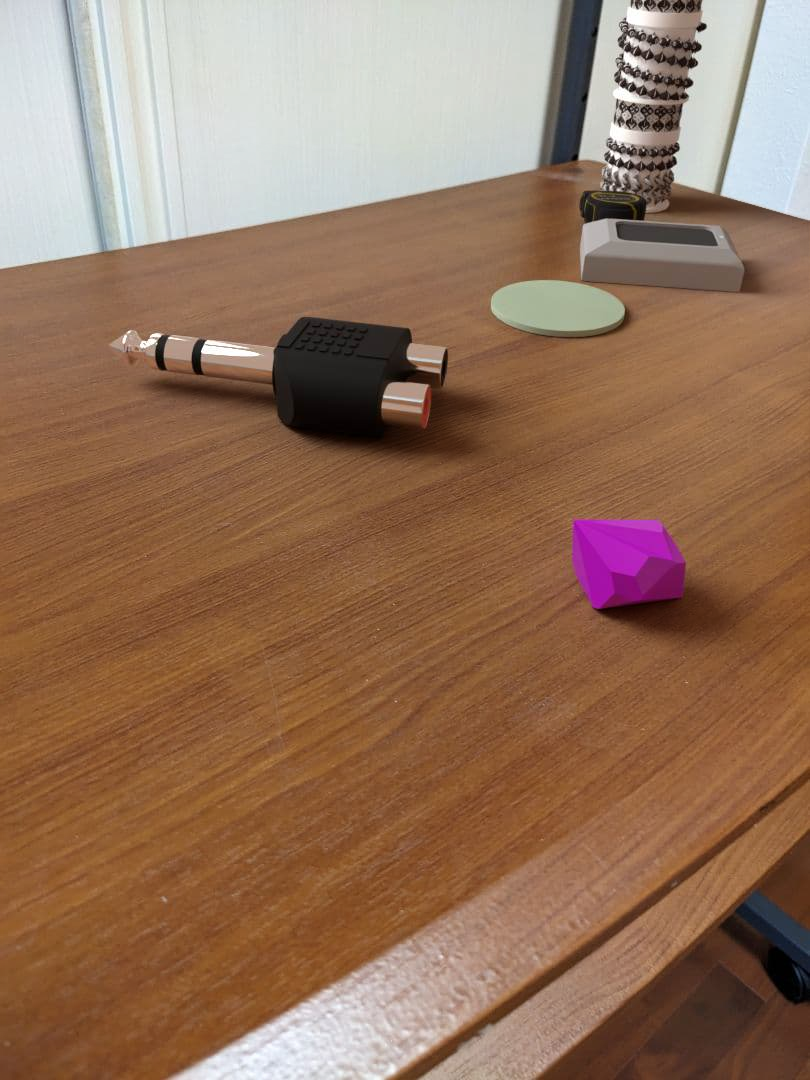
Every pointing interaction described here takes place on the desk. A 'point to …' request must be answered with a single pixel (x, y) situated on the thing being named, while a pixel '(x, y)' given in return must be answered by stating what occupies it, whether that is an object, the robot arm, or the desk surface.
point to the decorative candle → (651, 97)
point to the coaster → (557, 308)
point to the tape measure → (611, 206)
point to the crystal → (626, 562)
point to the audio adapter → (315, 371)
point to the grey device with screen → (660, 255)
